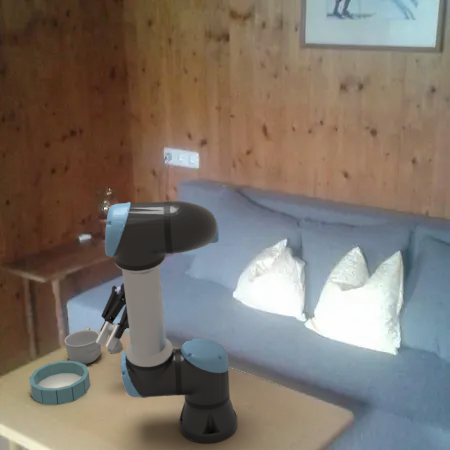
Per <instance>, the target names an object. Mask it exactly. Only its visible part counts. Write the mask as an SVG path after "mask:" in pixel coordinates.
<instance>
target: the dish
mask: <svg viewBox="0 0 450 450" xmlns="http://www.w3.org/2000/svg"><path fill="white" fill-rule="evenodd" d="M28 377H29V378H28V379H29V387H30V393H31V397H32V399H33V401H36V402H38V403H40V404H42V405H54V406H58V405H62V404H67V403H71V402H74V401H76V400H78V399H79V398H82V397H83V396H84V395H86V394H87V393H88V391H89V389H90V387H91V379H90V371H89V369H88V366H87V364H82V363H79V362H77V361H76V362H75V361H71V360H58V361H53V362H49V363H47V364H44V365H42V366H40V367H38V368H37V369H35V370H34V371H33V372H32V374H31V375H30V376H28Z"/></svg>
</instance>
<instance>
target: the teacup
mask: <svg viewBox="0 0 450 450" xmlns="http://www.w3.org/2000/svg"><path fill="white" fill-rule="evenodd" d="M99 335H100V333H99V332H98V331H97V330H94V329H91V327H84V329H82V330H77V331H74V332H72V333H70V334H68V335H66V337H65V338H64V344H65V349H66V353H67V357H68V358H69V361H75V362H76V361H77V362H79V363H82V364H84V365H87V364H90V363H92V362H93V363H94V362H95V360H97V358H99V356H100V355H101V352H102V351H101V350H102V347H101V345H99V344H98V343H96V341H97V339H98V337H99Z"/></svg>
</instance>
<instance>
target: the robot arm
mask: <svg viewBox="0 0 450 450" xmlns="http://www.w3.org/2000/svg"><path fill="white" fill-rule="evenodd" d="M219 235H220V234H219V219H218V218H217V217H216V216H215V215H214V214H213V213H212V212H211V211H210V210H209V209H207V208H206V207H203V206H201V205H199V204H196V203H191V202H187V201H181V200H170V201H147V202H131V201H127V202H125V203H123V202H122V203H115V204H113V205H111V206H110V207H109V209H108V212H107V217H106V224H105V236H104V252H105V255H106V257H110V258H113V260H114V261H113V262H114V264H115V266H116V267H117V268H119V269H120V270H121V271H122V279H123V283H121V285H120V286H116V285H112V288H111V293H110V295H109V298H108V300H107V302H106V304H105V306H104V309H103V311H102V314H101V315H100V316H101V317H102V319H103V320H104V323H103V324H102V326H101V327H100V333H99V337H98V339H97V341H96V343H98V344H99V345H101V346H102V347H104V346H105V347H106V348H107V349H108V348H109V349H111V350H113V349H114V347H115V345H116V343H117V341H118V339H119V340H120V339H121V338H122V337H123V335H124V332H125V330H127V329H129V339H130V343H129V344H128V345H127V346H126V349H125V351H123V352H122V354H121V356H120V357H121V358H120V370H121V371H120V372H121V380H122V384H123V388H124V390H125V392H126V393H127V395H128V396H130V397H131V398H144V399H147V398H155V397H156V398H157V397H171V396H184V402H183V405H182V409H181V411H180V415H179V418H178V419H179V420H178V421H179V424H178V425H179V431H180V434H181V435H183V437H185V438H186V439H188V440H189V441H192V442H195V443H201V444H212V443H218V442H221V441H224V440H226V439H229V438H230V437H231V436H233V435H234V434H235V432H236V431H237V428H238V415H237V413H236V411H235V409H234V406H233V403H232V400H231V398H230V397H231V396H230V376H229V375H230V373H229V370H230V363H229V362H230V361H229V356H228V355H229V354H228V351H227V349H226V348H225V346H224V345H223V344H221V343H219V342H218V341H215V340H212V339H208V338H200V337H199V338H192V339H191V340H187V341H185V342H184V343H183V344H182V346H181V348H174V347H173V344H172V343H171V341H170V340H169V339H168V338H166V337H167V336H166V326H165V317H164V315H165V313H164V304H163V301H164V300H163V290H162V278H161V269H160V268H161V267H160V265H162V264H163V263H164V261H165V260H166V255H169V254H181V253H186V252H190V251H193V250H194V251H195V250H197V249H201V248H204V247H206V246H208V245H210V244H216V243H218V242H219V239H220V238H219V237H220V236H219ZM124 306H125V307H124ZM123 308H124V309H123ZM122 310H123V313H122V315H121V317H120V321H119V322H117V323H116V324H117V325H116V324H115V325H116V326H115V328H114V330H113V332H112V334H111V336H110V335H109V331H108V327H109V325H110V324H112V325H114V323H115V320H116V318H117V317H118V316H119V314H120V313H121V311H122Z"/></svg>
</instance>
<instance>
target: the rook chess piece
mask: <svg viewBox="0 0 450 450" xmlns="http://www.w3.org/2000/svg"><path fill="white" fill-rule="evenodd" d="M113 323H114V325H112V324H110V325H109V327H108V331H109V337H110V336H111V334H112V332H113V330H114V328H115V326H116V325H118V324H117V323H115V322H113ZM123 350H124V346H123V343H122V342H121V340H120V339H118V341H117V343H116V345H115V347H114V349H113V350H111V349H109V348H108V347H107V352H109V354H112V355H117V354H120V353H121V352H122V351H123ZM122 353H123V352H122Z"/></svg>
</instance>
